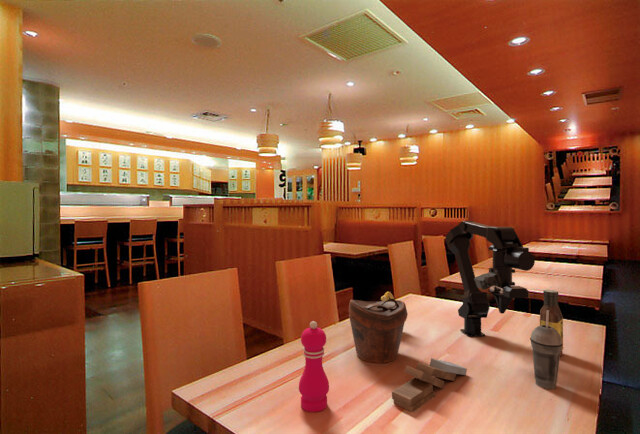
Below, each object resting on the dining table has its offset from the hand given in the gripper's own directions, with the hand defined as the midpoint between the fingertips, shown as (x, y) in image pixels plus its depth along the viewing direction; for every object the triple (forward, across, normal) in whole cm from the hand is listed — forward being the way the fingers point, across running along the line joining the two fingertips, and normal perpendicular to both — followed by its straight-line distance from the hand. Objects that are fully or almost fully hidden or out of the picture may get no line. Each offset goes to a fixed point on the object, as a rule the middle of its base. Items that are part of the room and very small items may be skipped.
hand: (501, 313), depth 116 cm
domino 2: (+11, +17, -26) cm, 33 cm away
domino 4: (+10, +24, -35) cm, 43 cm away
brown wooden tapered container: (+12, 0, -41) cm, 43 cm away
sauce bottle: (+12, +4, +14) cm, 19 cm away
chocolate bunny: (+12, -21, -32) cm, 40 cm away
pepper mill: (+12, +27, -63) cm, 70 cm away
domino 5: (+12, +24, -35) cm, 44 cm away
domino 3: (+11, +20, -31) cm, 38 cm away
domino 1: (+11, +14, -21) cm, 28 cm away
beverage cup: (+12, +23, -2) cm, 26 cm away
